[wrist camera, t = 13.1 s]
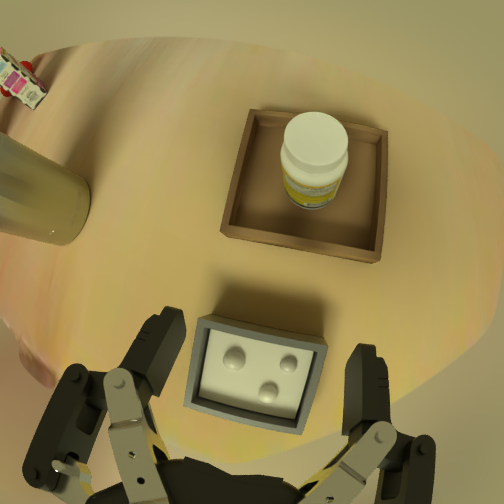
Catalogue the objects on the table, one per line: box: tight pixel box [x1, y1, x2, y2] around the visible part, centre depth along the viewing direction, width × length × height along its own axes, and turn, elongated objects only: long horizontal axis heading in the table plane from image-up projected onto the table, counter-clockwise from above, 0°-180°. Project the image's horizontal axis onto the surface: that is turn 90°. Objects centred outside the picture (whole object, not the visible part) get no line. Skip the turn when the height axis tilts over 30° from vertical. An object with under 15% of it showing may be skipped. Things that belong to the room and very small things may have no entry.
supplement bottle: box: [280, 112, 348, 209], centre depth 19 cm, size 5×5×8 cm
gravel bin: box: [183, 314, 328, 435], centre depth 21 cm, size 10×8×4 cm
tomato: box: [0, 61, 33, 97], centre depth 36 cm, size 10×11×6 cm
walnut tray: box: [220, 109, 388, 264], centre depth 23 cm, size 13×12×3 cm
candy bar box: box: [0, 47, 47, 110], centre depth 27 cm, size 11×5×16 cm, turn 45°
